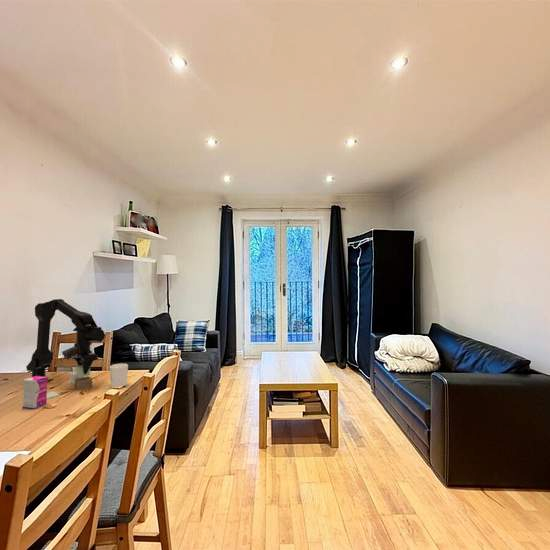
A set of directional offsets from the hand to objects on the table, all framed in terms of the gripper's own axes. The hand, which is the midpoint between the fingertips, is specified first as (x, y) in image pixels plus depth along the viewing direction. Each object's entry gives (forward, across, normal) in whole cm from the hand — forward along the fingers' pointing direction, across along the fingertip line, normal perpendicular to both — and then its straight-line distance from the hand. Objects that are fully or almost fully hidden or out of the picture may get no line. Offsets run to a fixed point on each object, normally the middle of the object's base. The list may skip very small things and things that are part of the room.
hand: (83, 373), depth 158 cm
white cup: (+7, +13, +11) cm, 18 cm away
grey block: (+7, -11, +1) cm, 13 cm away
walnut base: (+7, 0, 0) cm, 7 cm away
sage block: (+1, 0, 0) cm, 1 cm away
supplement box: (+7, +11, -22) cm, 25 cm away
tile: (+6, +2, -15) cm, 16 cm away
